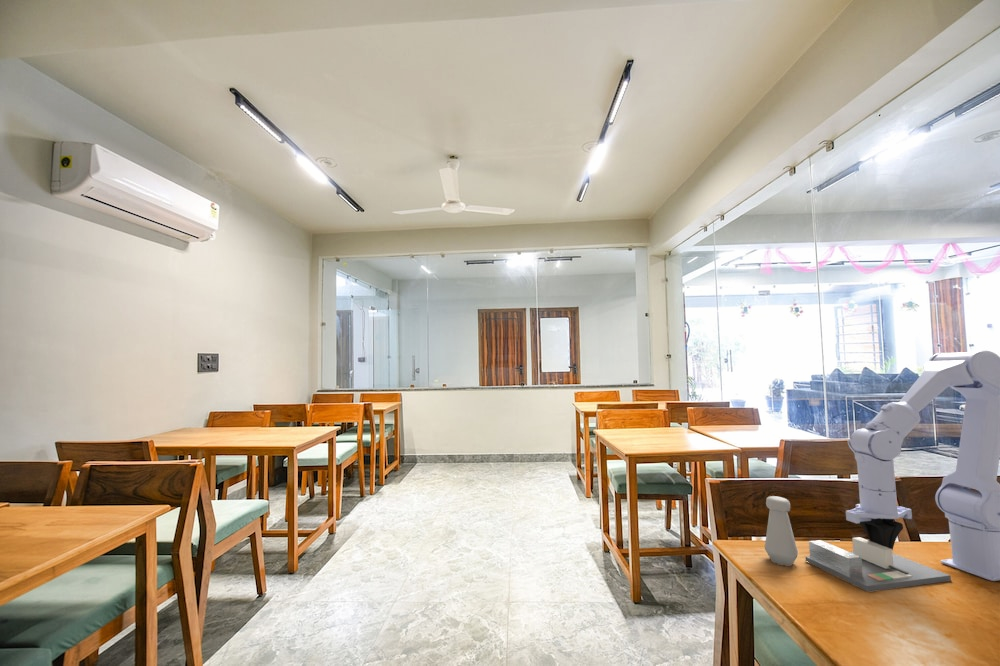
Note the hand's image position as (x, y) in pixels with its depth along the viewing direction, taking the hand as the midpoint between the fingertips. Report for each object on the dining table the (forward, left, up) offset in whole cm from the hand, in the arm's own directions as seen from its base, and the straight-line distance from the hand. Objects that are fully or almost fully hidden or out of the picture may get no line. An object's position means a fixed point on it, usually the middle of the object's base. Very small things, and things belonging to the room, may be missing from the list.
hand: (882, 556), depth 83 cm
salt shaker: (+19, -6, -2) cm, 20 cm away
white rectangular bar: (+3, +1, -1) cm, 3 cm away
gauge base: (+4, +1, -2) cm, 4 cm away
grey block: (+12, 0, -2) cm, 12 cm away
